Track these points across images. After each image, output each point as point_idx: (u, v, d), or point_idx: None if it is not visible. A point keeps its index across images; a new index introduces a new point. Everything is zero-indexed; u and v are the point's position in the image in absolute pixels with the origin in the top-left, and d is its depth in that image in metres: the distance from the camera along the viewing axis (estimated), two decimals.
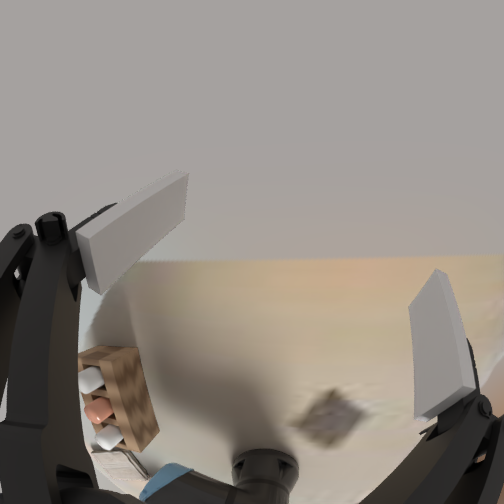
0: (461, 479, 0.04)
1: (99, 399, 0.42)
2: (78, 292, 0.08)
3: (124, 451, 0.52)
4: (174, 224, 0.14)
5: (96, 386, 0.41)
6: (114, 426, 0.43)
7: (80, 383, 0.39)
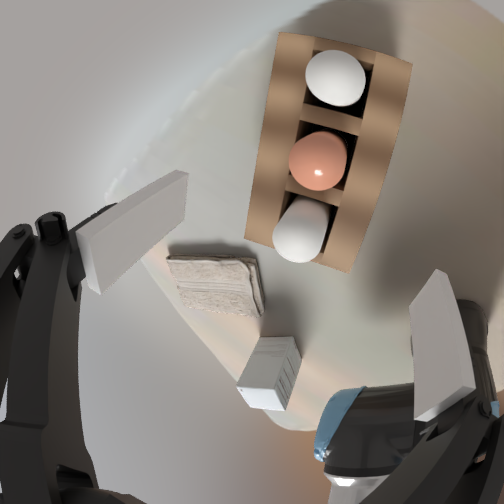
0: (461, 479, 0.04)
1: (329, 133, 0.21)
2: (78, 292, 0.08)
3: (246, 261, 0.43)
4: (174, 224, 0.14)
5: None
6: (319, 206, 0.26)
7: (329, 75, 0.16)
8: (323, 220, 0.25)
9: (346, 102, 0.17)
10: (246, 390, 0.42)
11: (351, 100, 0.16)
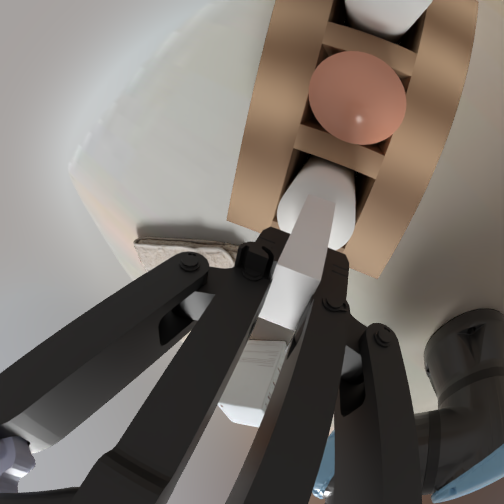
0: (351, 418, 0.06)
1: None
2: (250, 333, 0.09)
3: (230, 250, 0.34)
4: None
5: (416, 18, 0.07)
6: (345, 172, 0.17)
7: None
8: (353, 192, 0.16)
9: (408, 11, 0.06)
10: (227, 407, 0.34)
11: (415, 10, 0.06)
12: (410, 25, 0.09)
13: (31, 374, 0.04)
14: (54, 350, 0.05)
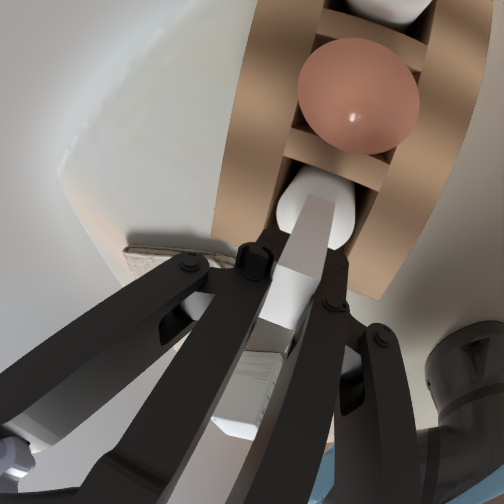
0: (350, 418, 0.06)
1: None
2: (250, 333, 0.09)
3: (222, 261, 0.32)
4: None
5: (427, 4, 0.05)
6: None
7: None
8: (352, 191, 0.16)
9: None
10: (220, 421, 0.32)
11: None
12: (419, 12, 0.07)
13: (31, 374, 0.04)
14: (54, 350, 0.05)
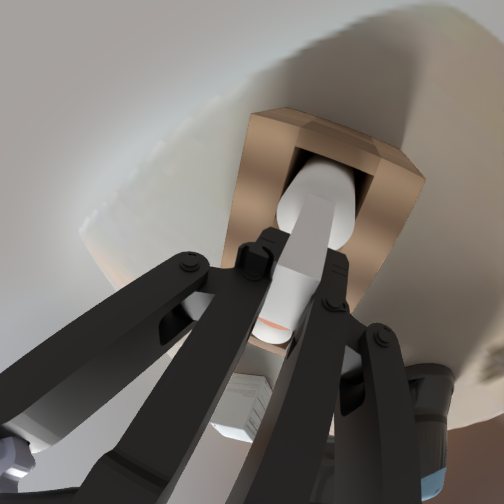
0: (350, 418, 0.06)
1: None
2: (250, 333, 0.09)
3: None
4: None
5: None
6: None
7: None
8: None
9: None
10: (219, 426, 0.42)
11: None
12: None
13: (31, 374, 0.04)
14: (54, 350, 0.05)
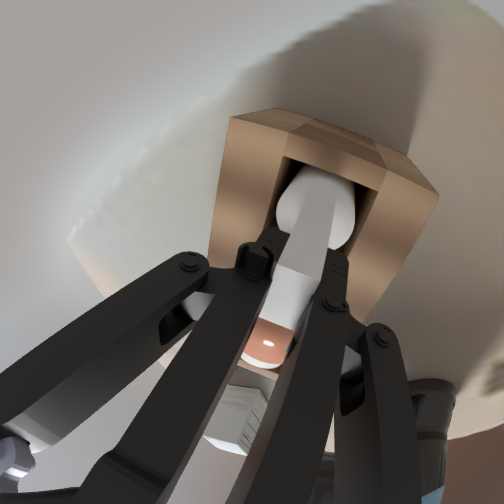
0: (350, 418, 0.06)
1: None
2: (250, 333, 0.09)
3: None
4: None
5: None
6: None
7: None
8: None
9: None
10: (212, 440, 0.40)
11: None
12: None
13: (31, 374, 0.04)
14: (54, 350, 0.05)
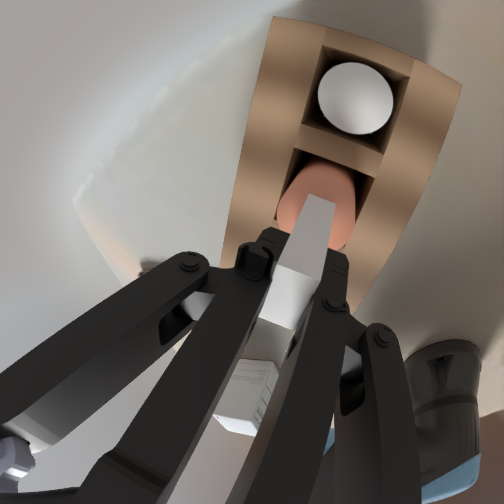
0: (351, 419, 0.06)
1: (336, 169, 0.16)
2: (250, 333, 0.09)
3: None
4: None
5: None
6: None
7: (348, 95, 0.13)
8: None
9: (365, 132, 0.14)
10: (222, 418, 0.38)
11: (372, 130, 0.13)
12: None
13: (31, 374, 0.04)
14: (54, 350, 0.05)
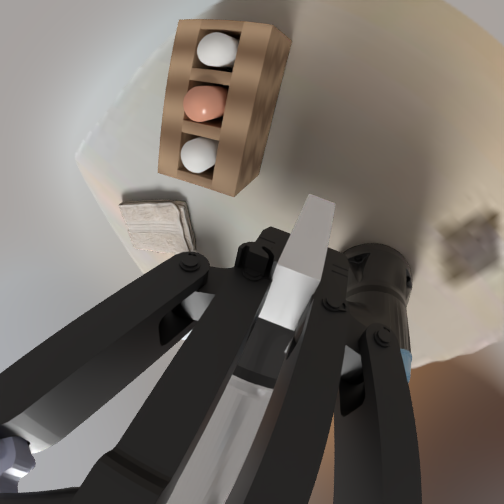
0: (350, 418, 0.06)
1: (217, 86, 0.29)
2: (250, 333, 0.09)
3: (177, 204, 0.49)
4: None
5: (234, 60, 0.26)
6: None
7: (210, 48, 0.24)
8: None
9: (220, 63, 0.25)
10: None
11: (223, 61, 0.25)
12: None
13: (31, 374, 0.04)
14: (54, 350, 0.05)
